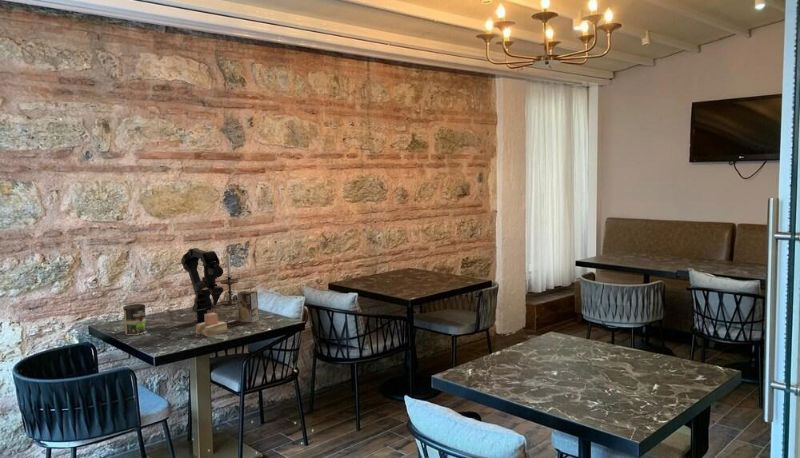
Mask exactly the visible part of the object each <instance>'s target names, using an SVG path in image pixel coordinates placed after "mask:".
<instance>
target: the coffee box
mask: <svg viewBox="0 0 800 458" xmlns="http://www.w3.org/2000/svg"><path fill="white" fill-rule="evenodd" d="M258 299H259V296H258V291H253V290H250V291H249V290H242V291H240V292H237V301H238V305H237V306H238V320H239V322H243V323H255V322H257V321H259V319H260V318H259V317H260V316H259V303H258V302H259V300H258Z"/></svg>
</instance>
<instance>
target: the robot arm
mask: <svg viewBox="0 0 800 458" xmlns="http://www.w3.org/2000/svg"><path fill="white" fill-rule="evenodd" d="M199 261H200V262H202V267H203V276H202V278H201V277H200V274H199V271H198V267H199ZM220 262H221V261H220V258H219V257H218V255H217V252H215V251H214V250H210V251H205V250H204V249H203V250H202V249H200V248H198V247H197V248H196V247H195V248H190V249H188V250H187V252H186V253H184V254H183V255H182V257H181V260H180V263H181V265H182V267H183V269H184V271H186V272H187V273H188V275H189V278H190V282H191V286H192V287H193V291H194V295H195V296H194V303H193V305H192V307H191V310H192V312H193V313H196V320H194V322H195V323H196V324H199V323H203V322H205V318H204V314H208V311H211V310H212V305H213V306H217V304H218V301H219V300H220V297H221V295H222V294H223V293H224V287H223V286H220V285H218V283H217V282H216V280H217V279H218V278H221V277H222V276H223V274H224V269H223V267H221V266H220V264H221V263H220ZM211 296H212V297H211ZM211 298H212V299H211Z"/></svg>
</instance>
